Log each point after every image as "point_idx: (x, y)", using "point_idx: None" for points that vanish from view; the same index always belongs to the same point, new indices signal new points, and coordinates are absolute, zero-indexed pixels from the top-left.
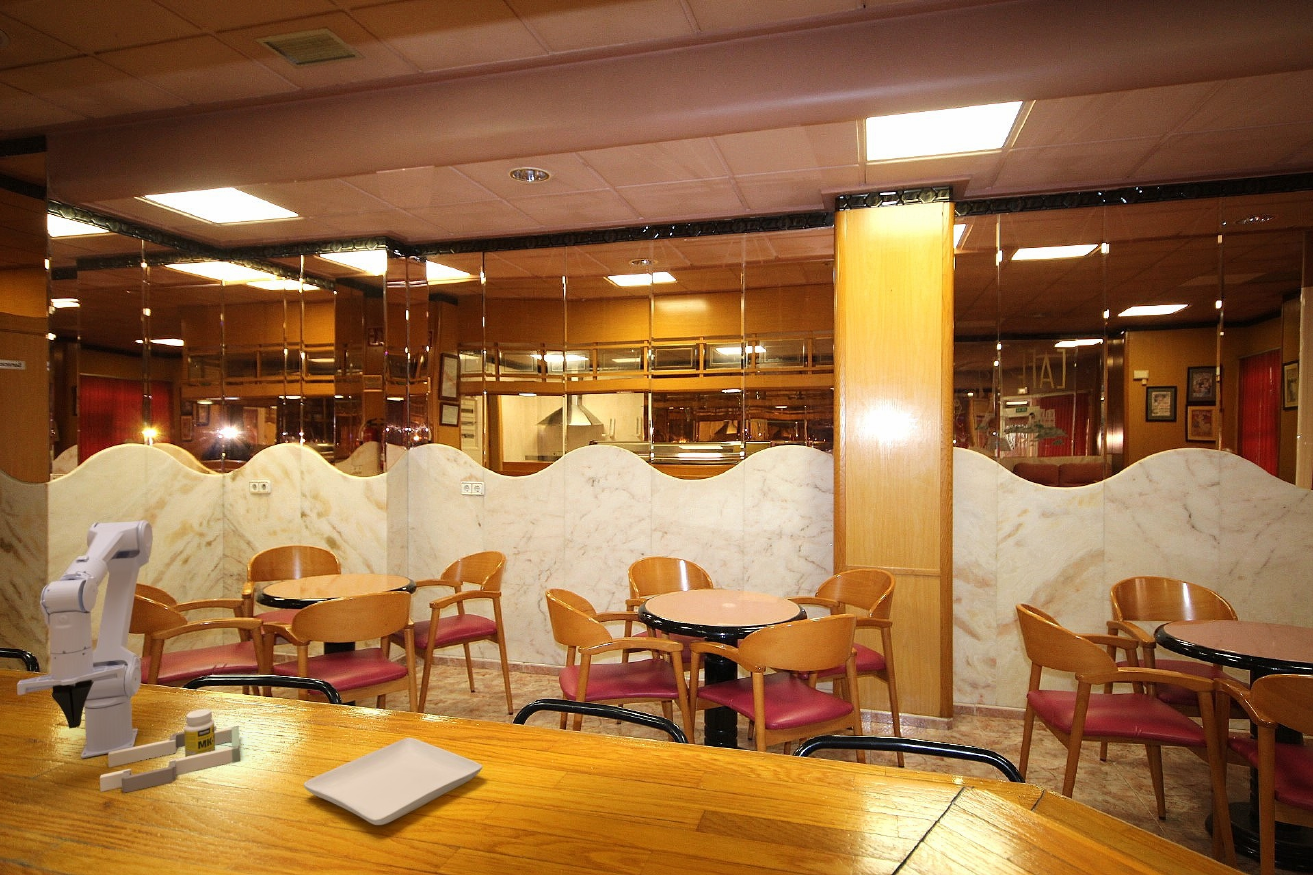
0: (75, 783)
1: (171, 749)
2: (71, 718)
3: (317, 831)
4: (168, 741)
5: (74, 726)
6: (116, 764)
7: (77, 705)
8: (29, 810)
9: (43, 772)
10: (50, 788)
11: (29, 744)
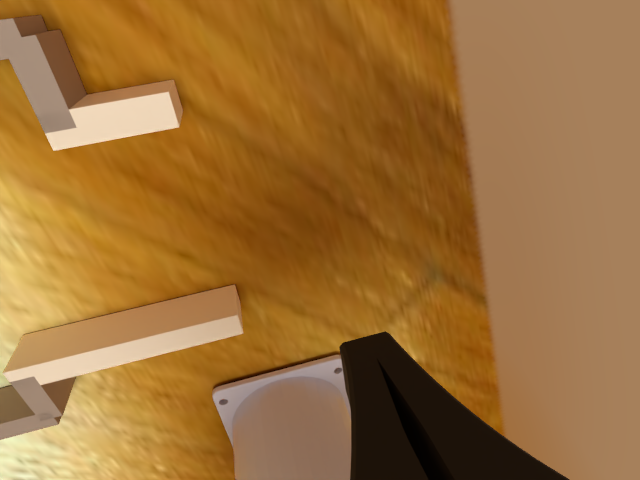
0: (303, 195)
1: (31, 344)
2: (398, 376)
3: None
4: (33, 371)
5: (363, 340)
6: (212, 292)
7: (393, 475)
8: (397, 10)
9: (417, 299)
10: (372, 184)
11: None
